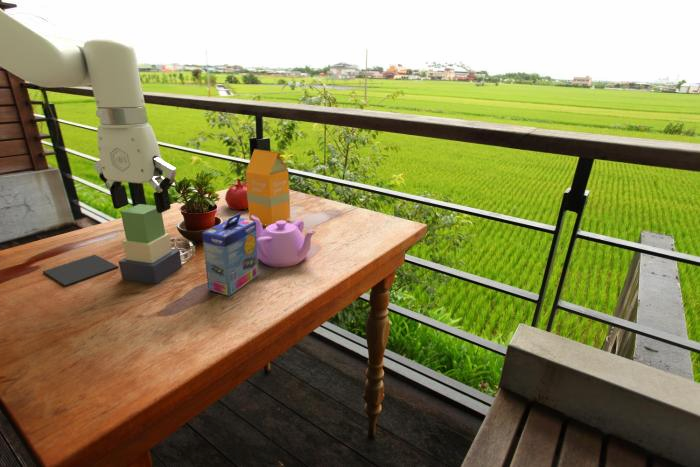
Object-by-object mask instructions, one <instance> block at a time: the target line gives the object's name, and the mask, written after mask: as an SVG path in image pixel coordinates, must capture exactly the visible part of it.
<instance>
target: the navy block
mask: <svg viewBox="0 0 700 467" xmlns="http://www.w3.org/2000/svg"><path fill="white" fill-rule="evenodd" d="M117 263H118V267H119V271H120V275H121V279H122V280H126V281H132V282H139V283H146V284H151V285H158V284H159V283H161V282H162V281H164V280H165V279H167V278H168V277H170V276H171V275H173V274H174V273H176V272H177V271H178V270H180V269H181V268H183V263H182V257H181V251H180V249H175V248H172V252H170V253H168V254H167V255H165V256H163V257H162V258H160V259H159V260H157V261H155V262H154V263H146V262H139V261H132V260H126V257H124V258H122V259H119V260H118V261H117Z"/></svg>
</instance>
